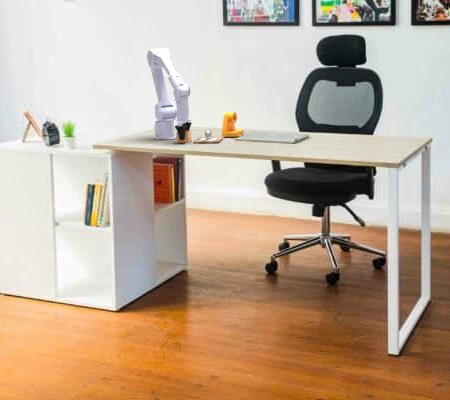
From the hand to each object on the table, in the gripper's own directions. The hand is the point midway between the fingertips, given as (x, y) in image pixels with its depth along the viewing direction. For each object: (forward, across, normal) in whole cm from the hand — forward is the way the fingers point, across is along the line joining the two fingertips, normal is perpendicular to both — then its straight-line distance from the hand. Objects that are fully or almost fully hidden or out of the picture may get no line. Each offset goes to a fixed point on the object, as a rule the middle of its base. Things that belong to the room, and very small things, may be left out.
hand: (184, 138), depth 452 cm
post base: (+1, 0, -12) cm, 12 cm away
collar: (+1, 0, 0) cm, 1 cm away
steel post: (+1, 0, -12) cm, 12 cm away
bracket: (+2, +16, -21) cm, 26 cm away
